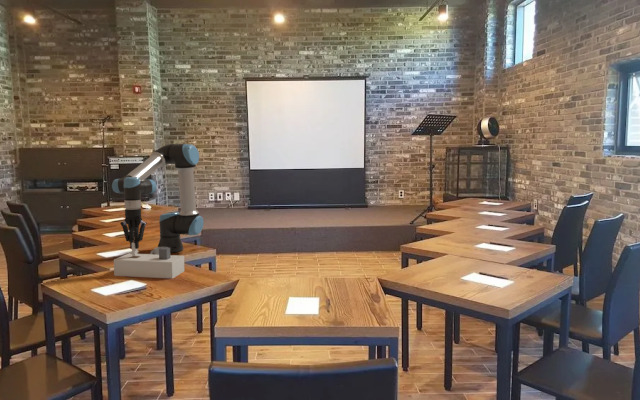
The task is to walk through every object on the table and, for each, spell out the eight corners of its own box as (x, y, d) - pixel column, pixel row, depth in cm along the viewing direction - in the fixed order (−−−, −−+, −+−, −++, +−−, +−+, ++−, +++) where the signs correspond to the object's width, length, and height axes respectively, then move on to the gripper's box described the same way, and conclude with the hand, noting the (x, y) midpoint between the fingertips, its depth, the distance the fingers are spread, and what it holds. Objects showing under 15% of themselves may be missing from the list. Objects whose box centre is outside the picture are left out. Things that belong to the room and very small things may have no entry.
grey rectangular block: (129, 268, 247) (128, 253, 246) (184, 271, 243) (184, 255, 242) (114, 275, 233) (113, 259, 232) (172, 278, 229) (172, 262, 228)
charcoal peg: (162, 261, 238) (162, 247, 238) (170, 261, 238) (170, 247, 237) (159, 263, 234) (158, 249, 234) (166, 263, 234) (166, 249, 233)
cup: (166, 266, 252) (165, 249, 251) (147, 265, 253) (147, 249, 252) (170, 262, 260) (170, 246, 259) (152, 262, 260) (152, 246, 259)
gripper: (116, 209, 232) (118, 256, 235) (141, 209, 231) (143, 257, 234) (124, 207, 240) (126, 252, 243) (149, 207, 238) (150, 253, 241)
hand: (134, 254), depth 238 cm, fingers closed
